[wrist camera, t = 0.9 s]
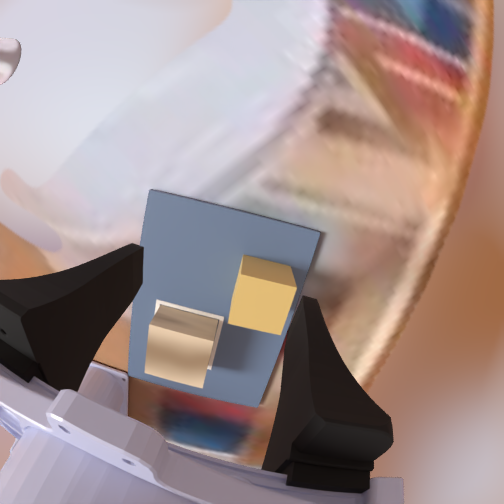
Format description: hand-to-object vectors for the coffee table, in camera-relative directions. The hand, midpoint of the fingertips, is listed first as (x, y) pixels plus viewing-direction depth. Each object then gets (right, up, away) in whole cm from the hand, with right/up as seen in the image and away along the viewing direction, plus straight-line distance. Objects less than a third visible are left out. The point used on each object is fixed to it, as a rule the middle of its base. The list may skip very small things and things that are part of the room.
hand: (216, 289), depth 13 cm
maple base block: (-6, -7, +18) cm, 20 cm away
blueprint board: (-3, -5, +18) cm, 19 cm away
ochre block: (+2, -1, +16) cm, 17 cm away
